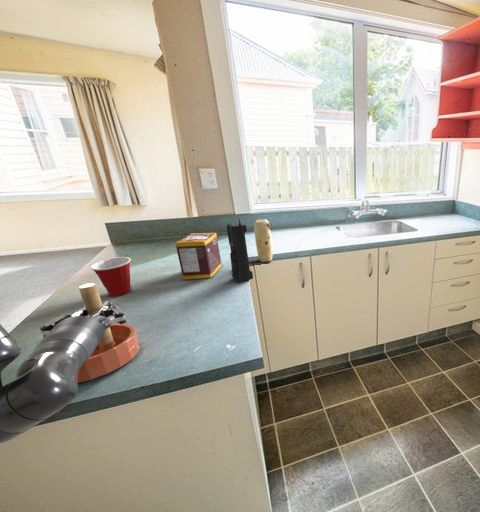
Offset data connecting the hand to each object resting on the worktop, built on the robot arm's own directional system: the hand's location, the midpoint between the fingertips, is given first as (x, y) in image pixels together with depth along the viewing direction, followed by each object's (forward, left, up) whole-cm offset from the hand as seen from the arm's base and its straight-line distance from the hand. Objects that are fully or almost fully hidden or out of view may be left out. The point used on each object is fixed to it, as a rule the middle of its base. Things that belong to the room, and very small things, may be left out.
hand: (99, 306), depth 70 cm
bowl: (-3, -3, -13) cm, 13 cm away
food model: (+44, +58, -13) cm, 74 cm away
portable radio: (+32, +38, -13) cm, 52 cm away
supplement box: (+18, +53, -13) cm, 58 cm away
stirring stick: (0, -3, -9) cm, 10 cm away
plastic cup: (-8, +43, -13) cm, 46 cm away
